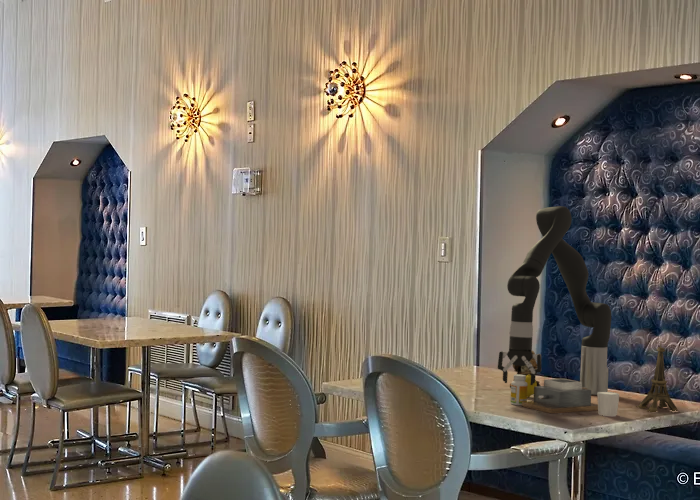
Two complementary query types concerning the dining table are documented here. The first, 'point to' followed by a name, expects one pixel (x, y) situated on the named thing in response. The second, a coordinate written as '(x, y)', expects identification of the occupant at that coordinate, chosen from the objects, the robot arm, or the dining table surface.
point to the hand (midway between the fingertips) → (518, 383)
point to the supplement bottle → (518, 390)
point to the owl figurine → (526, 369)
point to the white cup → (607, 403)
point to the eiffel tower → (658, 388)
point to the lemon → (530, 386)
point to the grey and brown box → (561, 397)
